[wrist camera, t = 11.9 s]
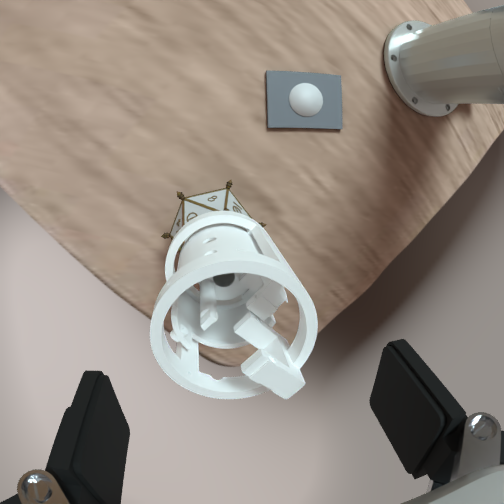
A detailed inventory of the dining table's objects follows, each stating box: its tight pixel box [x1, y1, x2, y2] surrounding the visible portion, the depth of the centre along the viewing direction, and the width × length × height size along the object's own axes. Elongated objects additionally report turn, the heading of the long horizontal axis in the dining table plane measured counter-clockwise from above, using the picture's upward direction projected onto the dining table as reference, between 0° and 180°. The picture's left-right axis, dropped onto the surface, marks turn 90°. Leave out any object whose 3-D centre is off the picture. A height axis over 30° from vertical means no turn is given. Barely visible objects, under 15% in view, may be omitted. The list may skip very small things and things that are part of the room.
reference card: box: [266, 71, 342, 129], centre depth 30 cm, size 8×6×1 cm
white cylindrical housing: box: [150, 211, 318, 399], centre depth 19 cm, size 7×7×15 cm
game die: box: [161, 180, 266, 252], centre depth 30 cm, size 9×8×10 cm
